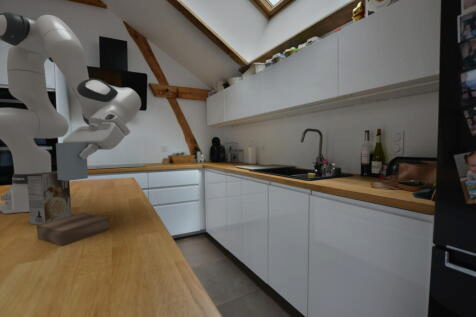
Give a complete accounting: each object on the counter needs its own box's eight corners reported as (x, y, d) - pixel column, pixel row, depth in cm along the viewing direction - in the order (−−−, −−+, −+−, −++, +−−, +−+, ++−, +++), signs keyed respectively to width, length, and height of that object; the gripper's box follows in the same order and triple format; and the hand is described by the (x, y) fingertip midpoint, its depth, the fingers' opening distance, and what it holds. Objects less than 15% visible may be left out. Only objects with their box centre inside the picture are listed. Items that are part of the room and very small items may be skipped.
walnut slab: (37, 239, 61) (36, 224, 61) (83, 225, 72) (83, 212, 72) (63, 247, 56) (62, 231, 56) (108, 231, 67) (108, 217, 67)
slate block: (57, 179, 62) (55, 143, 62) (77, 177, 67) (75, 143, 66) (68, 180, 60) (66, 142, 60) (87, 178, 65) (86, 143, 64)
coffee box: (57, 215, 81) (55, 170, 80) (72, 216, 80) (70, 171, 79) (28, 224, 72) (26, 173, 71) (45, 225, 71) (42, 174, 70)
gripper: (77, 119, 74) (43, 149, 66) (121, 115, 65) (87, 149, 57) (91, 133, 78) (61, 164, 70) (134, 131, 70) (105, 166, 61)
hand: (73, 157), depth 63 cm, fingers closed on slate block, 5 cm apart
